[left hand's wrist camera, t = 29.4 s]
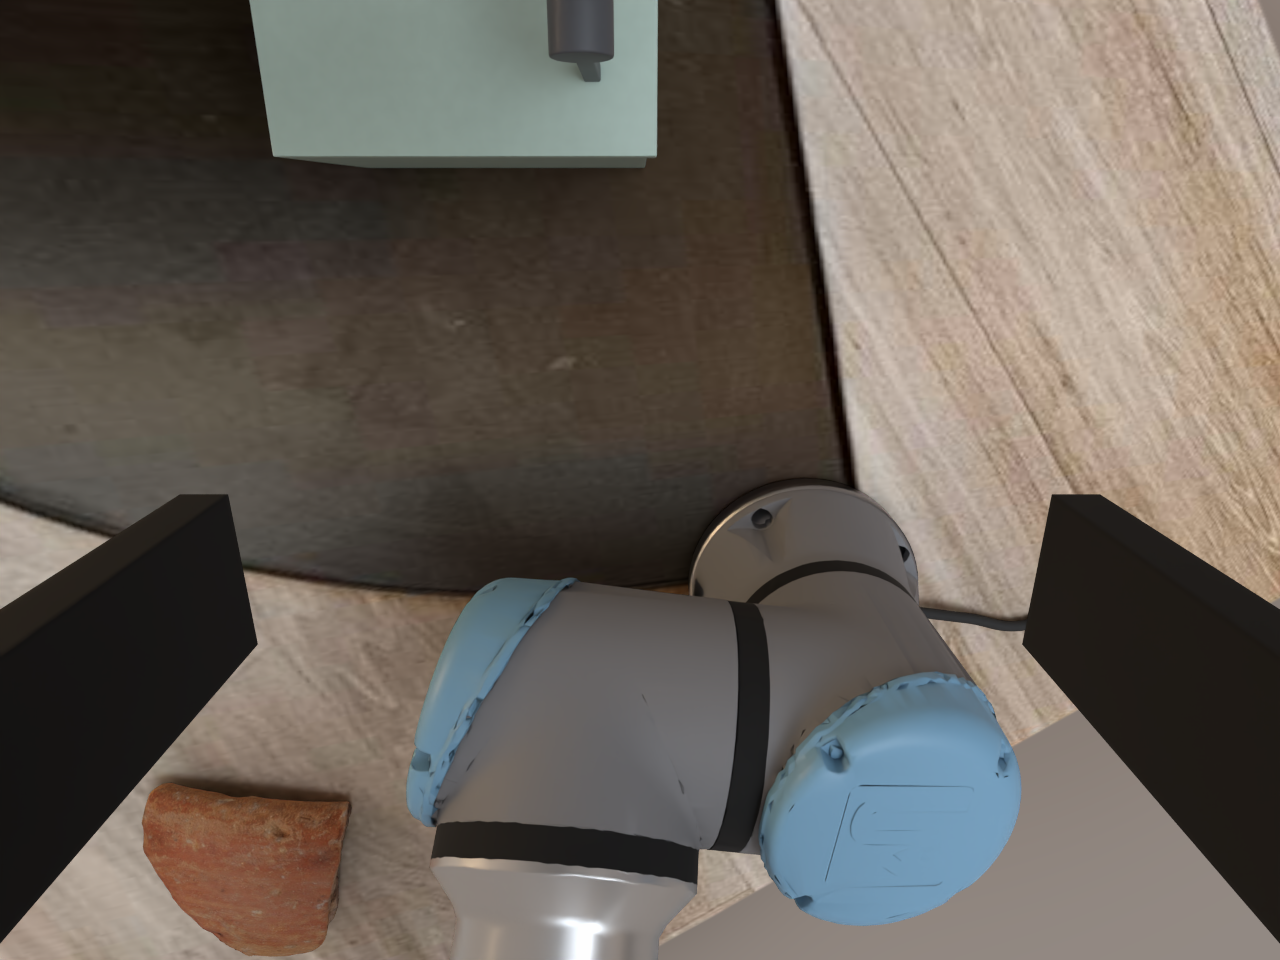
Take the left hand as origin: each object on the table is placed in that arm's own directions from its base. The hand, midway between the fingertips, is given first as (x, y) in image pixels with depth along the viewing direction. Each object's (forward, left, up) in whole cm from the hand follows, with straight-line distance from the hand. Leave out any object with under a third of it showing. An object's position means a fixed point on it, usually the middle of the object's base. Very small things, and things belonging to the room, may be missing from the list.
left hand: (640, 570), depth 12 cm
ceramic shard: (+17, +50, -36) cm, 65 cm away
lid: (+11, -11, -26) cm, 30 cm away
